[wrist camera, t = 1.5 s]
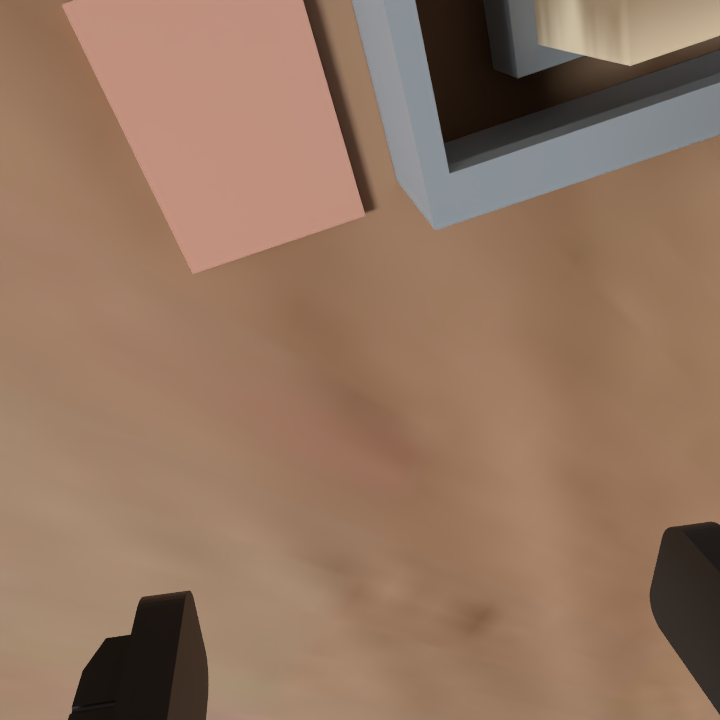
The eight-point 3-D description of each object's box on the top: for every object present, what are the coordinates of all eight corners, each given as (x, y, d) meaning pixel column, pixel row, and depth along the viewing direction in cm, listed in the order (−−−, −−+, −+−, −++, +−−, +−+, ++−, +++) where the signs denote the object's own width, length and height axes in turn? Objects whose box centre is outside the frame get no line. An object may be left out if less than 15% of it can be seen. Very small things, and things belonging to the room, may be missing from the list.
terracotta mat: (64, 4, 24) (61, 4, 24) (281, -71, 24) (282, -72, 23) (193, 269, 31) (192, 274, 30) (363, 212, 30) (365, 215, 30)
